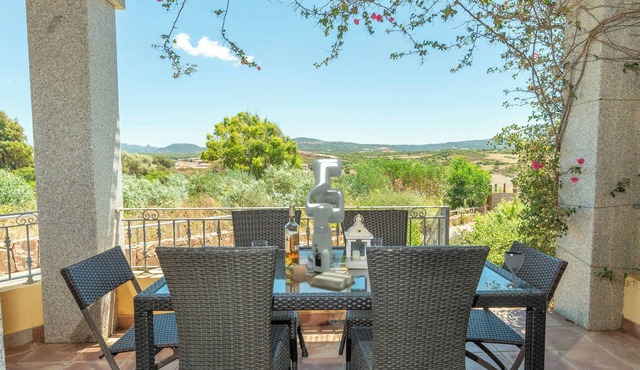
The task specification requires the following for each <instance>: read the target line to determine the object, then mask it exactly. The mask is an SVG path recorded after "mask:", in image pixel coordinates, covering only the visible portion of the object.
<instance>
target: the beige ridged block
mask: <svg viewBox="0 0 640 370" xmlns="http://www.w3.org/2000/svg"><path fill="white" fill-rule="evenodd" d="M354 279H355V277H354V274H349V273H344V272H343V273H342V272H336V271H331V270H330V271H327V272H324V273H322V272H321V273H319V274H318V275H315V276H314V277H312V278H311V283H310V287H312V288H314V289H315V288H317V289H321V290H328V291H333V292H339V293H340V292H342V291H343V290H346V289H347V288H349V287H352V286H353V285H355V284H356V280H354Z"/></svg>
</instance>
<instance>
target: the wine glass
mask: <svg viewBox="0 0 640 370" xmlns="http://www.w3.org/2000/svg"><path fill="white" fill-rule="evenodd" d="M524 259H525V253H524V252H522V251H515V250H507V251H504V262H505V265H506V267H507V268H508V269H509V270H510V272H511V275H512V282H508V284H507V283H506V284H507V285H508V286H511V287H510V288H512V287H518V284H519V283H516V282H515V278H516V273H517V272H518V271H519V270H520V269H521V268H522V266H523V264H524ZM508 286H507V287H508Z"/></svg>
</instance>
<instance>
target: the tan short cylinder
mask: <svg viewBox="0 0 640 370" xmlns="http://www.w3.org/2000/svg"><path fill="white" fill-rule="evenodd" d="M293 282H294V283H305V282H307V265H305V264H295V265H293Z"/></svg>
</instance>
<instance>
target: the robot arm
mask: <svg viewBox="0 0 640 370" xmlns="http://www.w3.org/2000/svg"><path fill="white" fill-rule="evenodd" d="M311 168H312V173H313V176H314V186H313V187H312V188H311V189H310V190H309V192H308V193H307V195H306V196H305V203H304V204H305V207H304V213H305V215H306V217H308V218H313V233H312V239H311V253H312V256H313V255H314V258H315V266H318V267H321V259H320V256H321V253H322V251H323V249H327V250H328V251H329V253H330V260H332V258H333V257H334V256H335V255H336V253H335V252H333V241H332V239H333V236H332V235H333V233H332V228H331V227H330V226H329V224H341V223H343V222H344V220H345V193H344V190H342V189H341V188H332V181H331V178H339V177H341V176H342V173H343V162H342V160H341V158H338V157H337V158H336V157H335V158H330V157H329V158H328V157H327V158H325V157H321V158H316V159H313V160H312V163H311ZM315 197H316V202H312V200H313V199H314V198H315ZM317 251H318V252H317ZM317 254H319V256H318V255H317ZM311 260H312V261H313V259H311ZM334 263H335V258H333V260H332V261H330V265H331V264H334Z"/></svg>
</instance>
